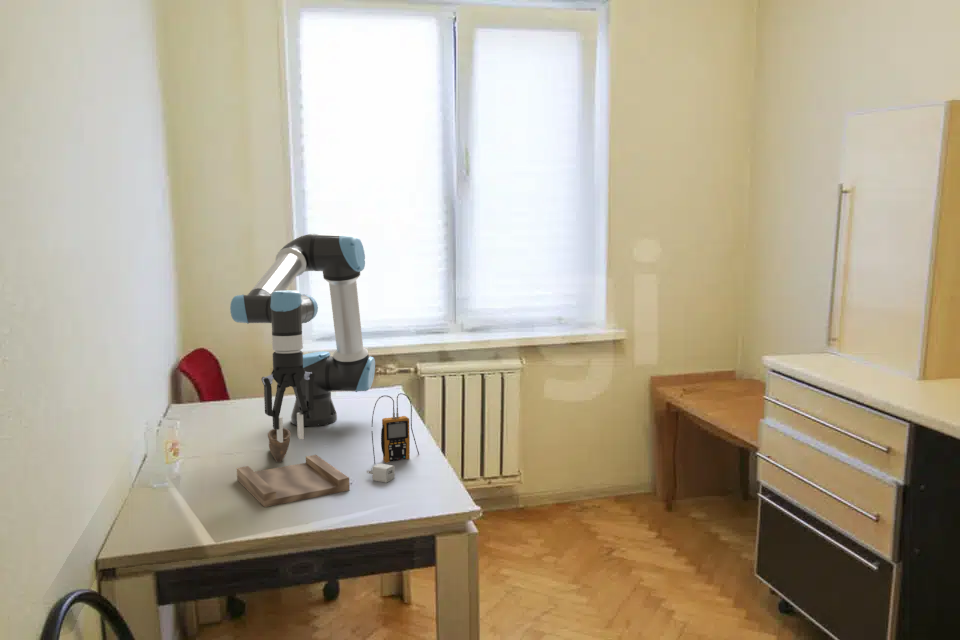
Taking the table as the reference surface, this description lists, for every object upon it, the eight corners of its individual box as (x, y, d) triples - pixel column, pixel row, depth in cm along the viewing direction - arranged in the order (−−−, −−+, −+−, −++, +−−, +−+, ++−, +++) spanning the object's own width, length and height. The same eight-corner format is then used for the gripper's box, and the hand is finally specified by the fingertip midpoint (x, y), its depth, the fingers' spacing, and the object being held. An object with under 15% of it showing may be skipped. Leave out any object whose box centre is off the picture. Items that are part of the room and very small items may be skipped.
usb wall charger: (386, 483, 201) (385, 469, 200) (364, 480, 204) (364, 465, 203) (394, 479, 204) (394, 464, 204) (373, 475, 207) (373, 461, 207)
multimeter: (380, 474, 208) (378, 402, 206) (370, 464, 217) (368, 395, 215) (431, 467, 214) (430, 397, 211) (419, 458, 223) (418, 391, 221)
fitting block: (316, 466, 216) (315, 454, 215) (349, 490, 196) (349, 477, 195) (237, 480, 204) (236, 468, 204) (264, 507, 184) (263, 493, 183)
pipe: (286, 449, 232) (285, 417, 231) (293, 465, 217) (291, 431, 216) (264, 451, 230) (263, 419, 229) (269, 467, 214) (268, 433, 213)
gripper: (315, 346, 203) (318, 431, 206) (248, 352, 194) (251, 441, 197) (326, 349, 197) (328, 437, 200) (257, 355, 188) (260, 448, 190)
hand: (290, 439), depth 198 cm, fingers open, 5 cm apart
